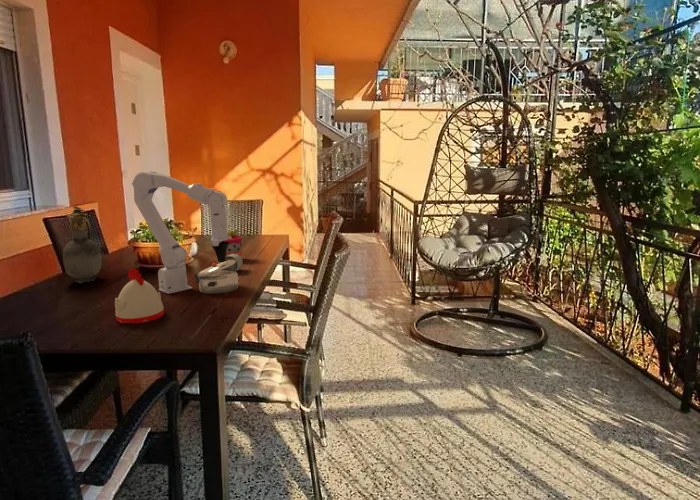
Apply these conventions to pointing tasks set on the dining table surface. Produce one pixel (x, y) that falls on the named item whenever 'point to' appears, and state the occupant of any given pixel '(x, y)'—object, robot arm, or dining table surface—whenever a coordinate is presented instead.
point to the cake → (234, 244)
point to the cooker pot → (218, 282)
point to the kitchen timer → (138, 301)
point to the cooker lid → (215, 268)
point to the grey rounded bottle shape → (81, 249)
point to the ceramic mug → (236, 265)
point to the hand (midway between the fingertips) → (221, 261)
